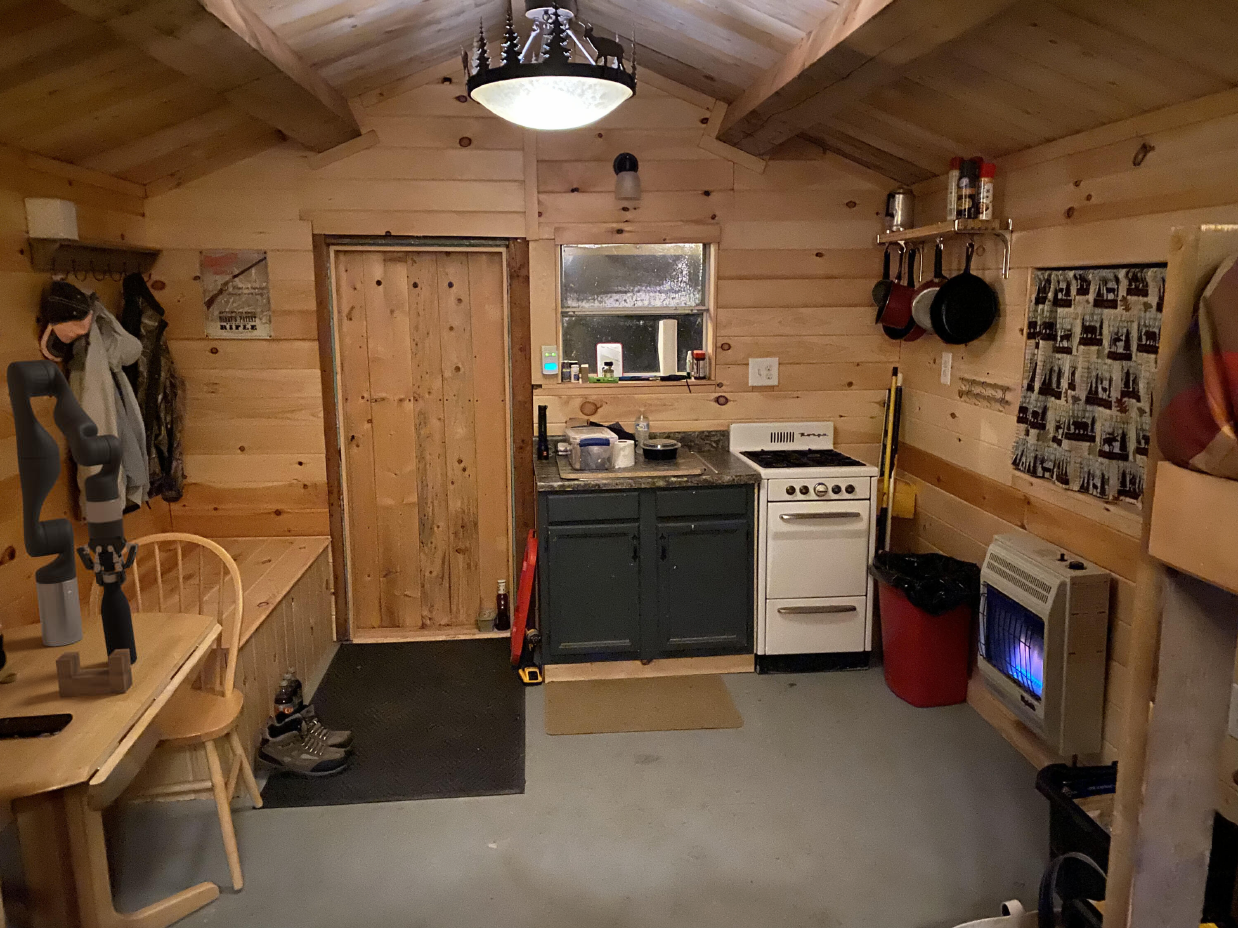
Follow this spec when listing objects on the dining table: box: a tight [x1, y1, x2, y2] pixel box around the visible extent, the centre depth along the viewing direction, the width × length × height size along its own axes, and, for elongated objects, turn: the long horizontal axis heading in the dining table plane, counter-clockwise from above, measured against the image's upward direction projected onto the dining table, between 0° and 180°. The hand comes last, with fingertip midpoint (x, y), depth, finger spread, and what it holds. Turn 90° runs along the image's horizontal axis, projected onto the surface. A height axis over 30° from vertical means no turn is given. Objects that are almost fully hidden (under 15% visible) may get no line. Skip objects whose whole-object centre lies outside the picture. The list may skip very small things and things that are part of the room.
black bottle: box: [98, 552, 138, 665], centre depth 224 cm, size 6×6×30 cm
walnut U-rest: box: [55, 649, 134, 698], centre depth 211 cm, size 5×14×9 cm, turn 100°
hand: (111, 584), depth 222 cm, fingers closed on black bottle, 3 cm apart
